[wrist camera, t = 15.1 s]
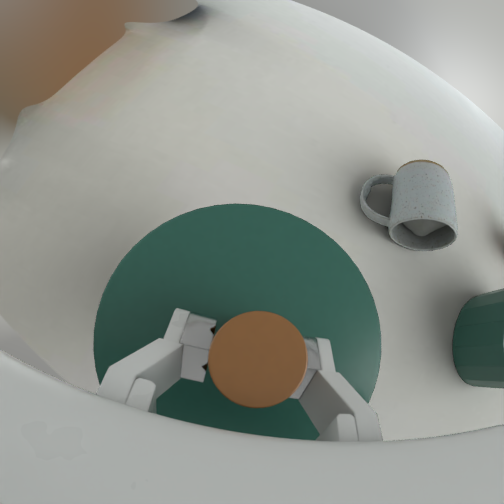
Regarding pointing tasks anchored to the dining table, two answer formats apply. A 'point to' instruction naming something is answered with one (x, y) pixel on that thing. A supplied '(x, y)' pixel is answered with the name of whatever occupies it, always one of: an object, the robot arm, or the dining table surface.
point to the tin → (481, 341)
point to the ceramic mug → (417, 206)
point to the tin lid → (243, 314)
